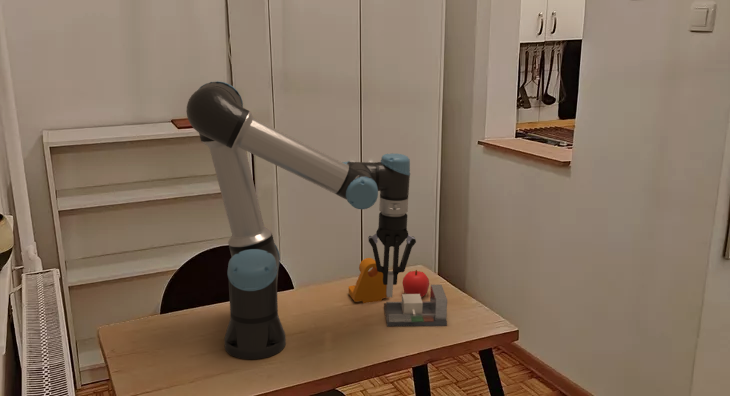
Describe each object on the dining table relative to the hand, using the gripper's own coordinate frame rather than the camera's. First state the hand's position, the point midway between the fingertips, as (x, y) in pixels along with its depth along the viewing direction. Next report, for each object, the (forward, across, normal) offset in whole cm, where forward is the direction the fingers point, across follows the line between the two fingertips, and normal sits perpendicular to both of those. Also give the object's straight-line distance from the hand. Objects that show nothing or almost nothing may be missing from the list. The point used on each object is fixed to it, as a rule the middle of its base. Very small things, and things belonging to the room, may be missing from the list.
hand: (389, 295), depth 181 cm
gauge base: (+6, +7, 0) cm, 10 cm away
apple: (+6, +9, +14) cm, 18 cm away
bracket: (+7, -5, +13) cm, 15 cm away
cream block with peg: (+5, +6, -1) cm, 8 cm away
